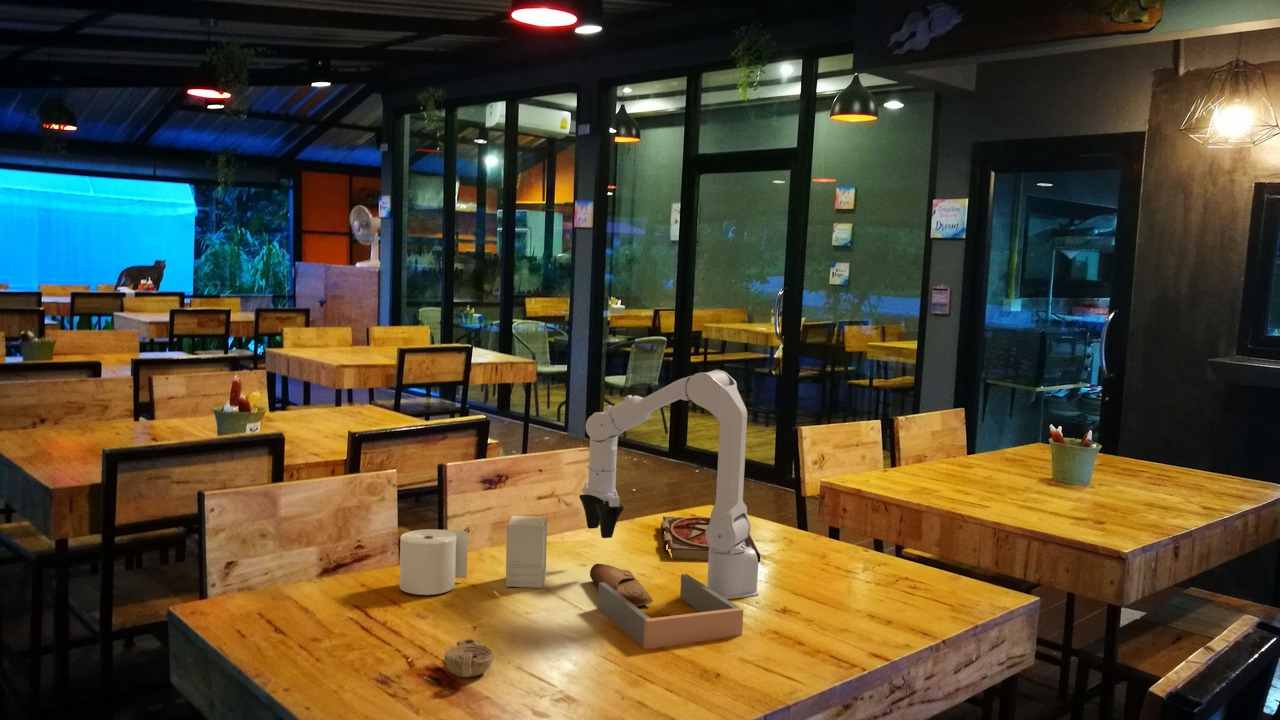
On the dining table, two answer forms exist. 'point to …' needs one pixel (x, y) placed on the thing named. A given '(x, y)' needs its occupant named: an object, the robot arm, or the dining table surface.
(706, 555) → the book
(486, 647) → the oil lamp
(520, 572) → the supplement box
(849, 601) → the dining table surface
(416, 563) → the toilet tissue
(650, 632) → the open rectangular frame
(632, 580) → the sunglasses case
